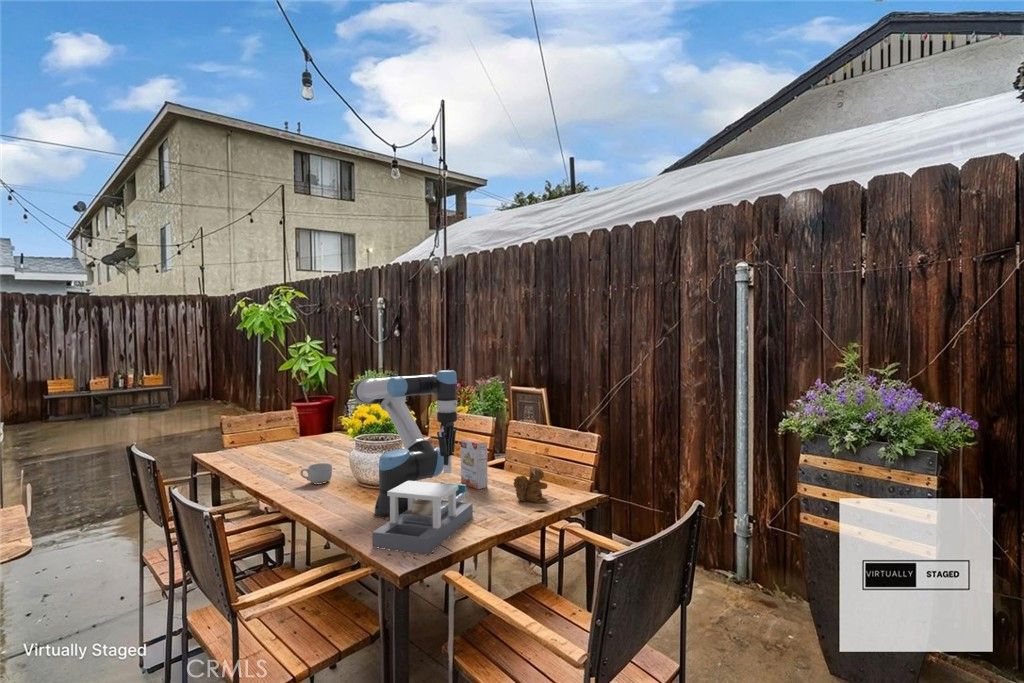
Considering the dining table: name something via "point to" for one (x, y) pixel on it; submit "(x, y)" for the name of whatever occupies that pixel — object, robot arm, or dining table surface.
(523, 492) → the stuffed squirrel
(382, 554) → the dining table surface
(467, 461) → the cracker box
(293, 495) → the dining table surface
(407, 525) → the tunnel track
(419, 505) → the beige rounded lump
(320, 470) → the teacup
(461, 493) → the sled
